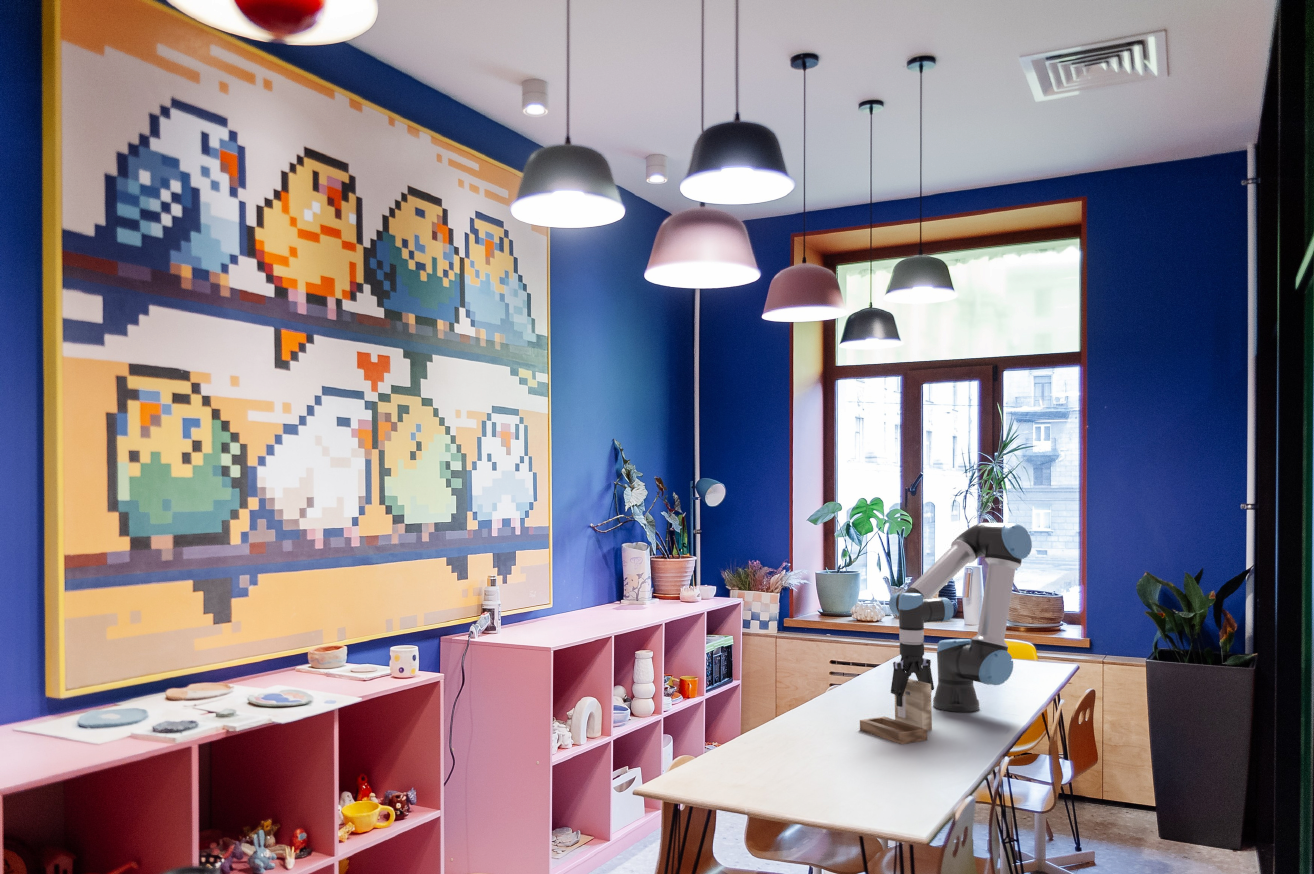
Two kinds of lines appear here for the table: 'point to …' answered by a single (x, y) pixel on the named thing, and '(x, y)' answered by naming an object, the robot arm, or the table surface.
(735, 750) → the table surface
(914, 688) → the panel
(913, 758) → the table surface
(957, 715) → the table surface
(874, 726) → the track
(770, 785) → the table surface
